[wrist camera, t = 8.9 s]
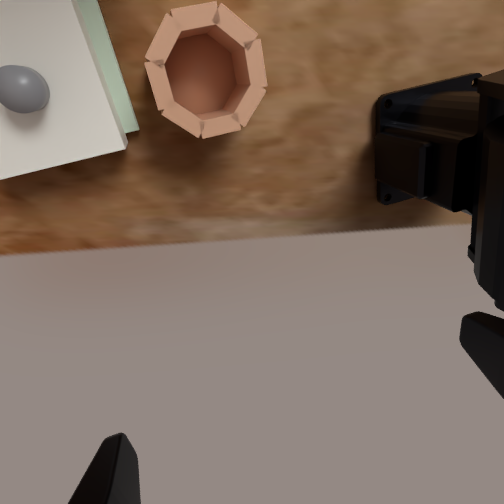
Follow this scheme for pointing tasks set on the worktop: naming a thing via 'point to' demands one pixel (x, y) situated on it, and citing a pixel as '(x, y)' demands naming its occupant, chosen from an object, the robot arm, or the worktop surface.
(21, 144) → the cover
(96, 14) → the mat
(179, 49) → the bowl
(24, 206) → the worktop surface
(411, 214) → the worktop surface
